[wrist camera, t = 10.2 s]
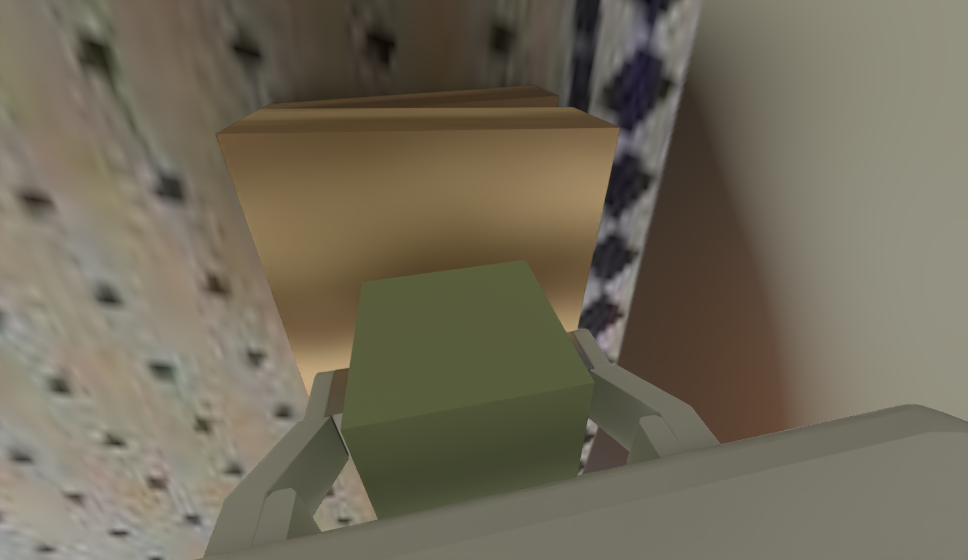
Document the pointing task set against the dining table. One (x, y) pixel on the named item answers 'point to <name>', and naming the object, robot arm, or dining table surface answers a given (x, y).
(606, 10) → the dining table surface
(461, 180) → the tower top
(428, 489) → the green cube
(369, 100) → the tower base
